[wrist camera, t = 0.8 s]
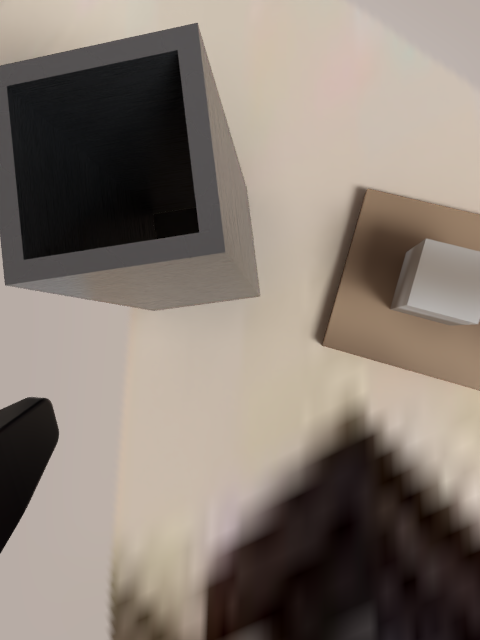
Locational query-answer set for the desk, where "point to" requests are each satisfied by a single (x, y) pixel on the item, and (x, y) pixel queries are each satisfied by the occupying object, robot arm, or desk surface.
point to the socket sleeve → (122, 176)
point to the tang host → (411, 289)
